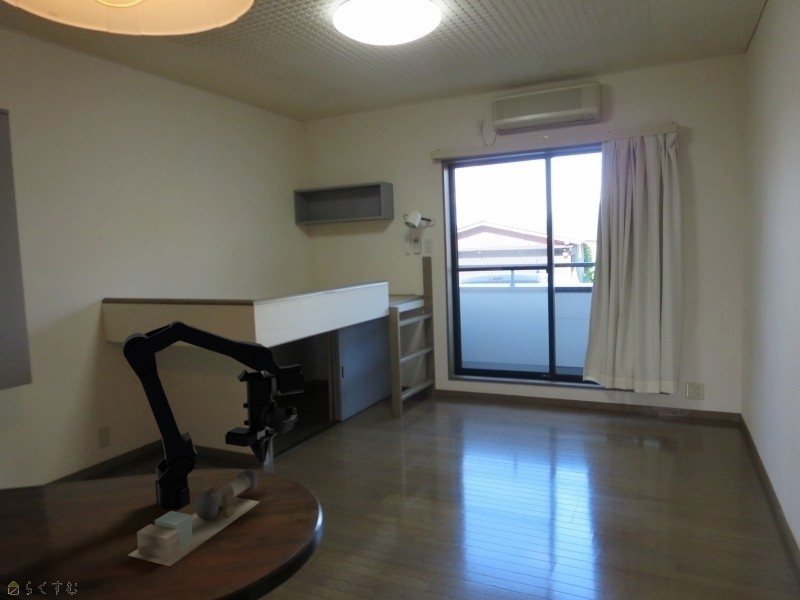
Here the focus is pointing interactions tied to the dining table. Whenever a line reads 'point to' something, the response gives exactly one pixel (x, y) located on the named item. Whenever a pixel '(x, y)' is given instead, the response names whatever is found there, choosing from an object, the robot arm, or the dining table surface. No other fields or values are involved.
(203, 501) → the shaft
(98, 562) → the dining table surface
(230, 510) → the bench
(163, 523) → the block
